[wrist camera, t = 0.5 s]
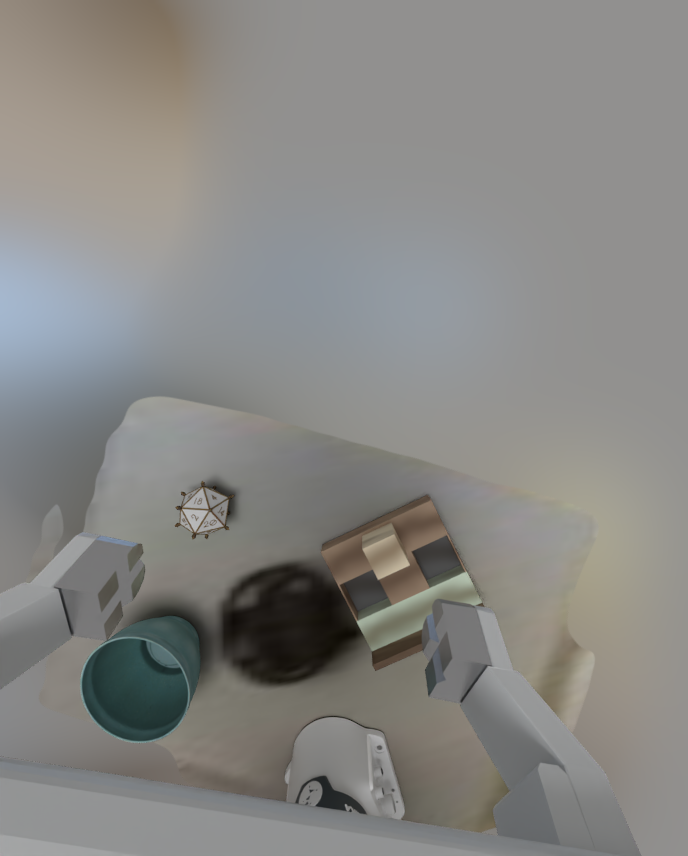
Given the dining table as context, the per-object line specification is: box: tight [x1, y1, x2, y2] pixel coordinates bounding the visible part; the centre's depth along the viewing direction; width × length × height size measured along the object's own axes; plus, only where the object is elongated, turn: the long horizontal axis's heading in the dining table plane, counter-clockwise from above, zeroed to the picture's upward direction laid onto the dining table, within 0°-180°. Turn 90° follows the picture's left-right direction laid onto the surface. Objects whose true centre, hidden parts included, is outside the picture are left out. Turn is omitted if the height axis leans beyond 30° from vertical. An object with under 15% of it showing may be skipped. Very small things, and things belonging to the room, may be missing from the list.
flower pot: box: [80, 616, 200, 743], centre depth 57 cm, size 16×16×11 cm
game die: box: [175, 481, 234, 539], centre depth 56 cm, size 9×8×10 cm
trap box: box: [321, 495, 484, 671], centre depth 57 cm, size 19×19×6 cm
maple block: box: [362, 523, 410, 580], centre depth 54 cm, size 5×5×5 cm
